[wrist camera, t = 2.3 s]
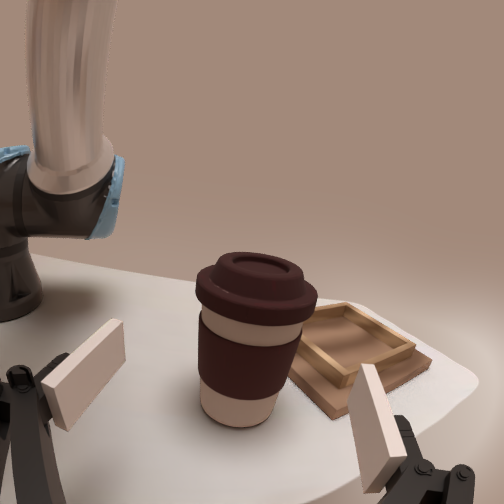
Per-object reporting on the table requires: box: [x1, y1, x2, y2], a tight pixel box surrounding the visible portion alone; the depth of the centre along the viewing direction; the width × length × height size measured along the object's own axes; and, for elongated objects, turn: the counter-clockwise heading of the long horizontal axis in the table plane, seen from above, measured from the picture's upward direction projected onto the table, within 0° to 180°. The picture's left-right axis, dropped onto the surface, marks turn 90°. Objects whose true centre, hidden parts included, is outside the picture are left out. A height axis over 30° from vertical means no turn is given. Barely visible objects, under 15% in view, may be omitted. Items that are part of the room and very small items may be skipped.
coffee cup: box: [195, 252, 318, 427], centre depth 27 cm, size 10×10×15 cm
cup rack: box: [288, 302, 432, 420], centre depth 40 cm, size 20×20×4 cm
